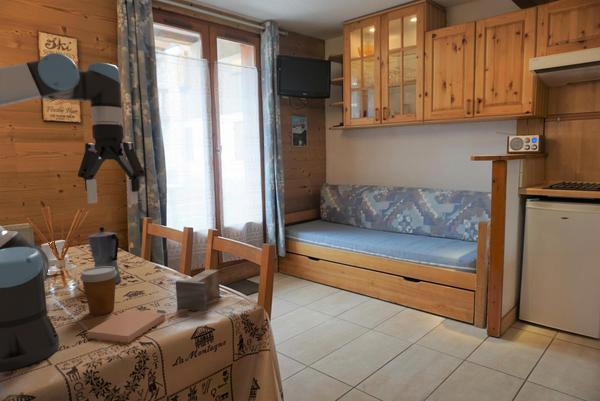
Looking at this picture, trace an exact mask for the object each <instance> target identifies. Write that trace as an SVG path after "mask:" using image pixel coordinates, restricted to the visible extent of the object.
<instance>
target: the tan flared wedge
mask: <svg viewBox="0 0 600 401" xmlns="http://www.w3.org/2000/svg"><path fill="white" fill-rule="evenodd" d="M219 270H220V269H209V268H208V269H205V270H203V271H202V272H200V273H198V274H196V275H194V276H192V277H190V278H188V279H186V280H180V279H178V280H176V281H175V291H176V292H175V294H176V307H177V309H178V308H181V309H182V310H189V309H190V310H191V311H199V312H206V311H207V310H208V304H209V303H210V302H212V301H213V300H215V299H216V298H218V297H219V296H220V294H221V291H220V287H221V286H220V273H219V272H220V271H219Z"/></svg>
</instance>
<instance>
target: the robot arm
mask: <svg viewBox="0 0 600 401" xmlns="http://www.w3.org/2000/svg"><path fill="white" fill-rule="evenodd" d="M120 76H121V75H120V69H119V68H118V67H117V65H115V64H111V63H108V62H107V63H105V62H90V63H89V64H88V65H87V70H79V68H78V66H77V64H76V63H75V62H74V60H72V59H71V58H70V57H69V56H67V55H65V54H62V53H57V52H52V53H48V54H46V55H44V56H43V57H42V58H40V59H38V60H33V61H30V62H29V61H28V62H22V63H18V64H12V65H11V64H10V65H6V66H1V67H0V107H4V106H5V107H6V106H8V105H9V106H10V105H14V104H16V103H21V102H26V101H30V100H34V99H39V98H40V99H47V100H51V101H55V100H59V101H60V100H62V101H63V100H64V101H68V100H69V101H83V102H84V101H85V102H87V101H88V102H89V103H90V114H91V115H90V117H91V123H92V124H93V125H92V126H91V128H92V132H91V133H92V139H94V140H95V141H94V142H95V143H91V142H88V143H87V142H86V143H85V144H84V154H83V157H82V161H81V164H80V166H79V169H78V173H77V176H78V178H81V179H83V180H84V188H85V191H86V196H87V198H86V199H87V205H88V204H90V205H91V204H97V203H98V202H99V201H98V187H97V179H96V177H95V176H96V175H97V173H98V171H99V170H100V168H101V166H102V165H103V163H104V162H106V160H114V161H116V162H117V164H118V165H119V166H120V168H121V169H122V170H123V171H124V173H125V174H126V175H127V177H128V179H127V180H126V184H127V185H126V187H127V195H128V196H127V198H128V200H127V202H128V205H130V206H131V205H136V204H139V198H138V195H139V194H138V192H139V191H140V184H139V182H140V181H139V180H140V178H144V177H145V176H146V173H145V170H144V168H143V166H142V164H141V162H140V160H139V158H138V156H137V154H136V152H135V148H134V143H133V142H131V141H124V142H123V140H124V138H125V137H124V136H125V134H124V126H123V125H122V124H123V121H124V120H123V106H122V105H123V104H122V82H121V77H120ZM48 269H49V262H48V258H47V256H46V254H45V252H44V251H43V250H42V248H41V246H38V245H36V244H35V243H32V242H30V241H28V239H27V238H25V237H24V236H23V235H22V233H20V232H18V230H17V231H16V230H6V229H5V228H4V227H3V226H2V225H0V372H6V371H12V370H16V369H21V368H25V367H27V366H31V365H33V364H36V363H39V362H41V361H43V360H44V359H47V358H49V357H50V356H52V355H54V354H55V352H57V351H58V350H59V348H60V337H59V335H58V334H59V333H58V332H57V331H56V328H55V326H54V324H53V323H52V321H51V319H50V317H49V314H48V309H47V297H46V290H45V289H46V288H45V280H46V278H47V276H46V275H47V273H48Z"/></svg>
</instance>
